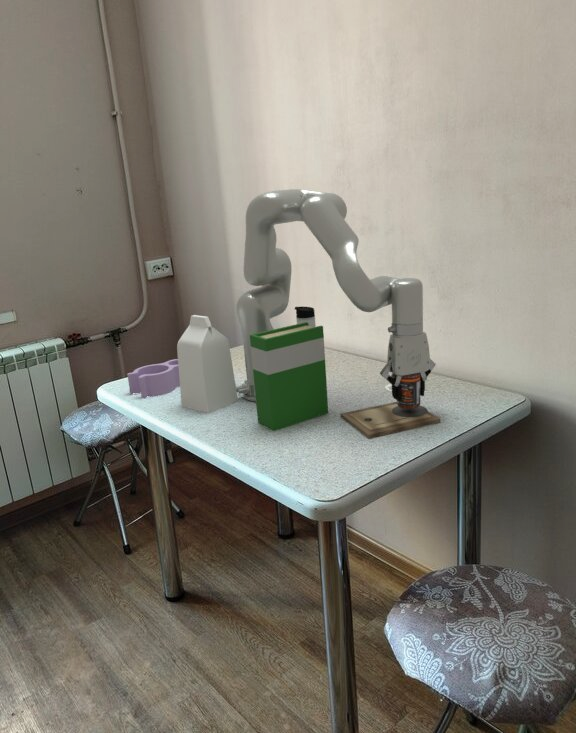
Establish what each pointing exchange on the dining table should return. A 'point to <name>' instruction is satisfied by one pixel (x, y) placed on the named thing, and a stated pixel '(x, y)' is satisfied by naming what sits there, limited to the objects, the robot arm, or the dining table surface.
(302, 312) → the travel mug
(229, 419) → the dining table surface
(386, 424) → the brown flat wooden board
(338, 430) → the dining table surface
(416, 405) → the supplement bottle
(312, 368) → the hardback book
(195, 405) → the milk
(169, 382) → the clip
